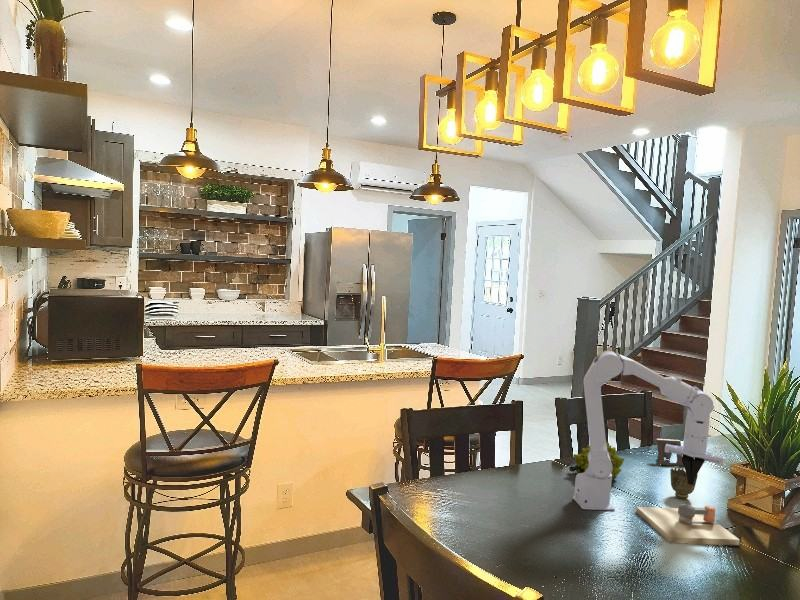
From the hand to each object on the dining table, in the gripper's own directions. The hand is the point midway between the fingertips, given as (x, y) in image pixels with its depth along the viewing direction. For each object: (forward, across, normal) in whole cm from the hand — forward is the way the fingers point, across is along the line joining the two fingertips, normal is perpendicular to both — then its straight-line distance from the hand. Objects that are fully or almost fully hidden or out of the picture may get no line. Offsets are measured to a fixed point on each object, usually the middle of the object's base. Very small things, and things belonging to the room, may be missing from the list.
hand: (690, 483), depth 158 cm
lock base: (+10, 0, -6) cm, 12 cm away
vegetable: (+11, -30, +16) cm, 35 cm away
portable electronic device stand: (+10, -15, +50) cm, 53 cm away
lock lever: (+8, +3, -4) cm, 9 cm away
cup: (+10, -5, +17) cm, 20 cm away
